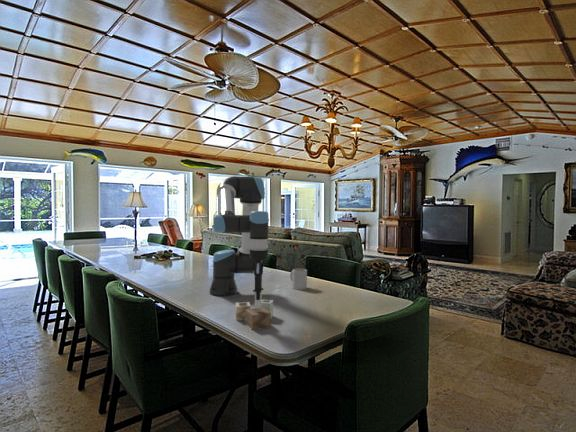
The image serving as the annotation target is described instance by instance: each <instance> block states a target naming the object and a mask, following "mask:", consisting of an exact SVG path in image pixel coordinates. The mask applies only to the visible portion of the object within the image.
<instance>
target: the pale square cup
mask: <svg viewBox="0 0 576 432" xmlns="http://www.w3.org/2000/svg"><path fill="white" fill-rule="evenodd" d="M261 307H264V308H265V309H266V310H268V311H269V312H271V319H272V318H273V316H274V300H273V299H262V303H261ZM261 307H258V308H261Z"/></svg>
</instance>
